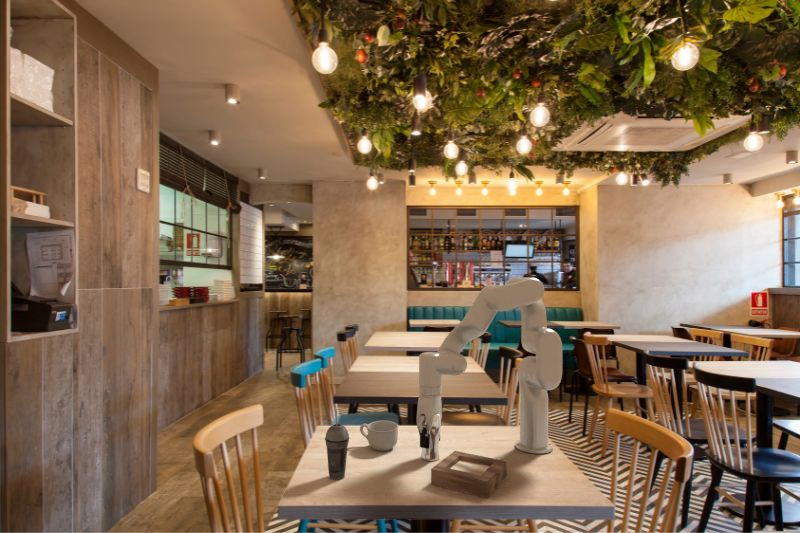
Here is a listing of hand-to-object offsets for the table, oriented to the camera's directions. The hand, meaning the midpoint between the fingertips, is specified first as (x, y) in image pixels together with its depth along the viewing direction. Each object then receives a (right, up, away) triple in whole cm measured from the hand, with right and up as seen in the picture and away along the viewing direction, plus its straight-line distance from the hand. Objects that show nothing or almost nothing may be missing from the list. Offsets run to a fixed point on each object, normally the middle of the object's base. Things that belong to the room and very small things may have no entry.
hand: (430, 443), depth 164 cm
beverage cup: (-29, -5, -16) cm, 33 cm away
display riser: (+11, -4, -18) cm, 21 cm away
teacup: (-17, -5, +10) cm, 21 cm away
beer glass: (0, -5, 0) cm, 5 cm away
